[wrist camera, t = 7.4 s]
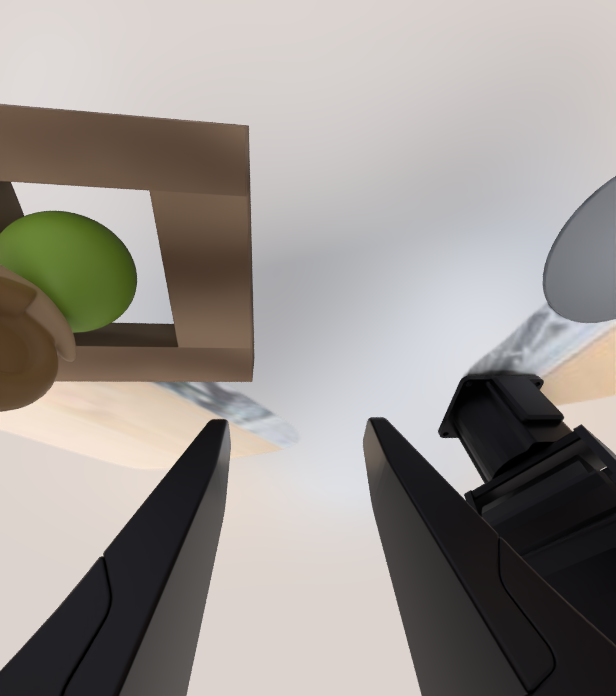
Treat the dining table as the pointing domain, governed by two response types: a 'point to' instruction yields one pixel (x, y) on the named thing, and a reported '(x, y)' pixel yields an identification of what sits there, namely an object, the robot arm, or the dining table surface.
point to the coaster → (585, 261)
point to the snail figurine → (55, 296)
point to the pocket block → (172, 228)
